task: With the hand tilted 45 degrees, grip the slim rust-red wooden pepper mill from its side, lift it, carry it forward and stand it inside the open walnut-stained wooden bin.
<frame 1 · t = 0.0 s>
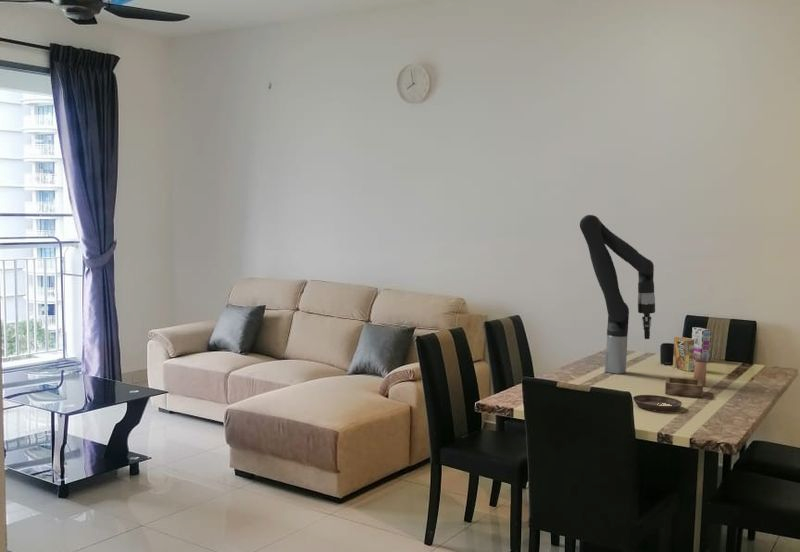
hand: (647, 337, 348), 17 cm above the table, tool pointing down, fingers open, 8 cm apart
bin: (683, 392, 313), on the table
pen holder: (669, 364, 377), on the table
candy bar box: (699, 360, 391), on the table
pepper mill: (699, 385, 328), on the table
candy box: (682, 369, 364), on the table
plant saucer: (656, 408, 287), on the table
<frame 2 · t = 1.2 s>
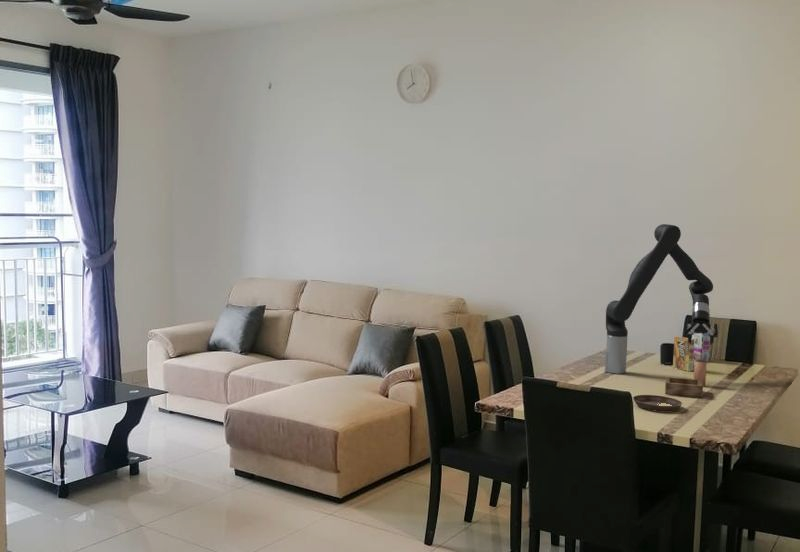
hand: (700, 343, 338), 17 cm above the table, tool tilted 45°, fingers open, 8 cm apart
nothing on the table moved.
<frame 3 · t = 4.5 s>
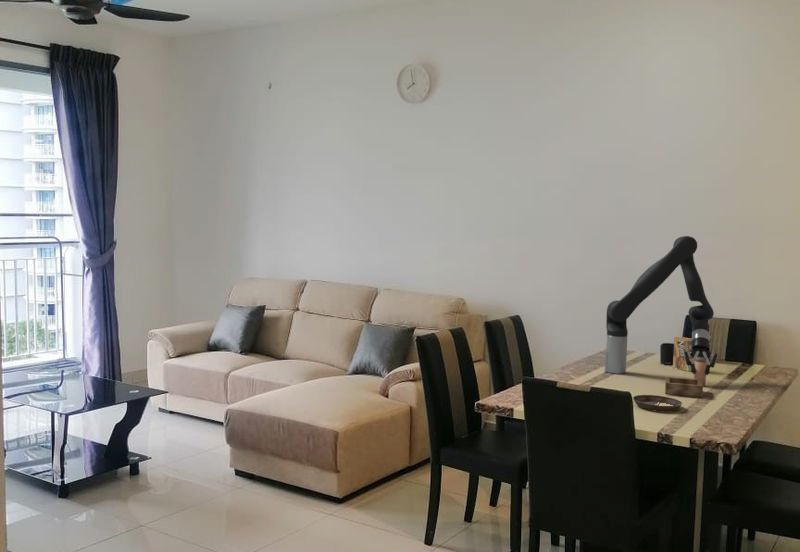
hand: (700, 373, 326), 6 cm above the table, tool tilted 45°, fingers closed on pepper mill, 4 cm apart
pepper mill: (699, 385, 328), on the table, touching gripper
everything else where it was.
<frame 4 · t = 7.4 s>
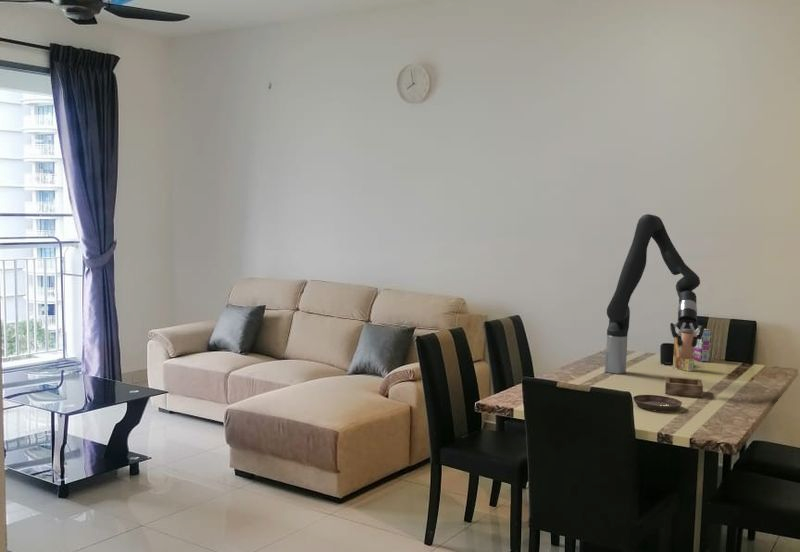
hand: (687, 345, 310), 20 cm above the table, tool tilted 45°, fingers closed on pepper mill, 4 cm apart
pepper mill: (686, 358, 312), point 14 cm above the table, touching gripper
everything else where it was.
when the fingers open (9 cm above the table, at t = 10.1 s): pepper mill drops 2 cm, resting on bin.
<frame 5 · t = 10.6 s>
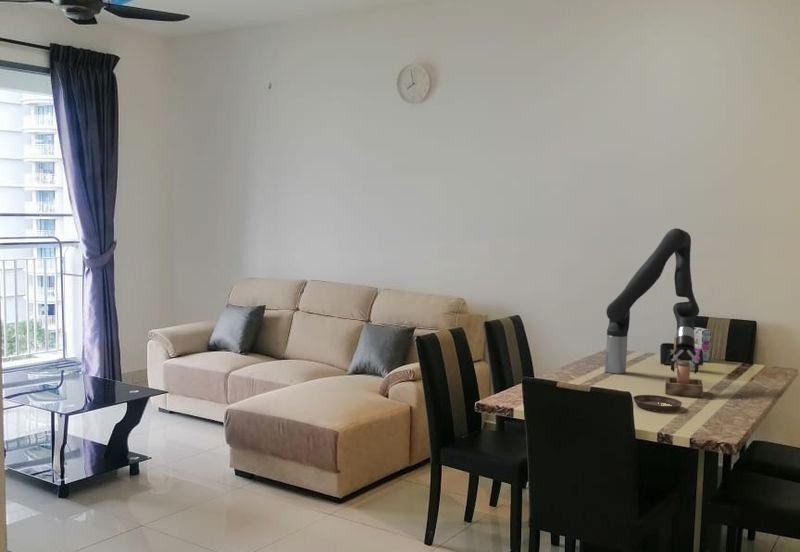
hand: (684, 371, 311), 9 cm above the table, tool tilted 45°, fingers open, 8 cm apart
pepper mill: (682, 390, 313), point 1 cm above the table, touching bin
everything else where it was.
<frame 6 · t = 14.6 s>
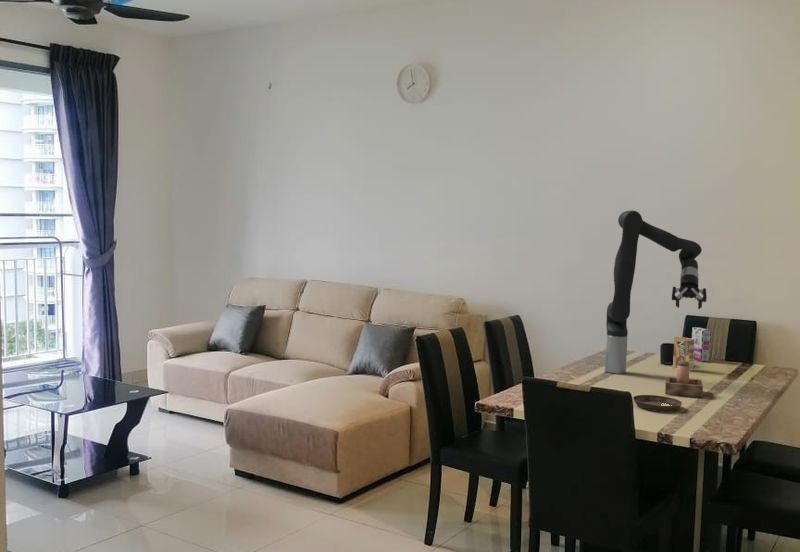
hand: (688, 307, 328), 34 cm above the table, tool tilted 45°, fingers open, 8 cm apart
nothing on the table moved.
at the end: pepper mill inside the target area on the bin (0.3 cm from its centre), point 0.9 cm above the bin's base; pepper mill tilted 2°; the gripper is holding nothing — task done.
